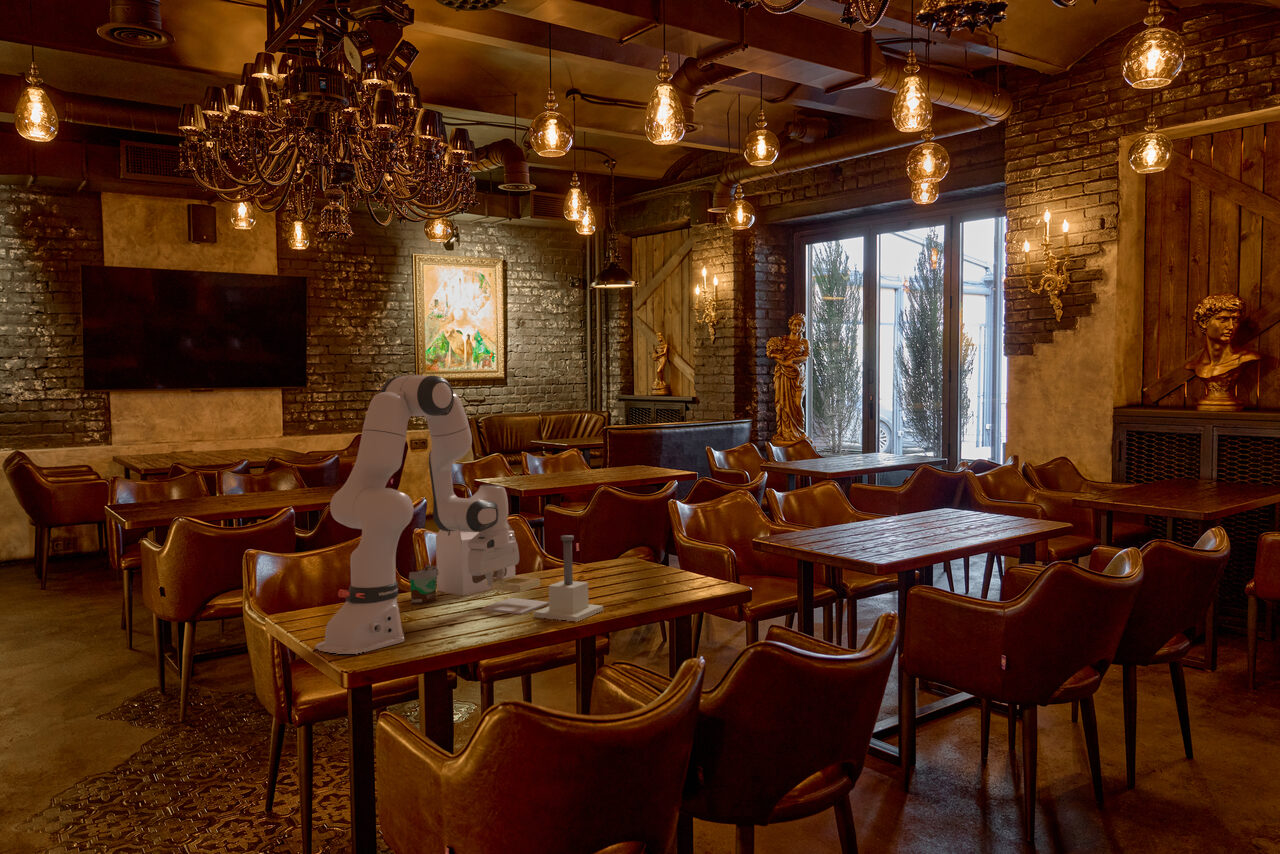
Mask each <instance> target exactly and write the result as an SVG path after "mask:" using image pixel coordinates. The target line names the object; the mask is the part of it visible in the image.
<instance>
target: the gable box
mask: <svg viewBox="0 0 1280 854" xmlns="http://www.w3.org/2000/svg"><path fill="white" fill-rule="evenodd" d="M507 522H508V526H509V535H510V534H512V535H513V536H514V537H515V530H514V528H512V525H511V523H509V521H508V520H507ZM478 533H479V532H462V531H443V530H441V529H439V530H438V532H437V534H436V535H435V554H436V555H435V557H436V559H435V560H436V561H435V563H436V565H435V566H436V567H437V569H438V572H439V575H437V578H436V592H441V591H442V593H446V594H452V595H455V596H456V595H457V596H461V597H465V595H466V596H469V594H470V595H474V593H475V594H477V593H482V592H483V593H484V592H486V591H491V589H492V587H489V586H488V585H487V578H486V576H485V574H484V575H481V576H474V575H471V574H470V573H469V569H468V554H469V551H470V548H468V542H469V541H470V540H471V539H472V538H474V537H475V536H476V535H477V534H478ZM493 573H494V575H492V576H493V578H497V574H498V572H497V571H494V572H493ZM511 576H516V565H513V566H510V567H507V568H505V574H504V576H503V579H505V578H508V577H511Z"/></svg>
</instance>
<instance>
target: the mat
mask: <svg viewBox="0 0 1280 854" xmlns="http://www.w3.org/2000/svg"><path fill="white" fill-rule="evenodd" d="M545 605H546V606H547V605H548V606H549V601H543V600H542V601H541V600H537V599H525V598H517V597H516V598H515V597H509V598H506V599H504V600H503V599H502V600H501V601H498V602H495V603H492V604H489V605H487V606H483V607H481V610H482V611H489V612H496V613H505V614H514V615H524V614H527V613H530V612H532V611H536V610H537V609H538V610H539V609H540V608H541V609H542V607H545Z"/></svg>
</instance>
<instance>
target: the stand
mask: <svg viewBox="0 0 1280 854" xmlns="http://www.w3.org/2000/svg"><path fill="white" fill-rule="evenodd" d="M574 540H575V536H574V535H572V534H571V535H570V534H569V535H568V534H567V535H564V534H563V535H560V541H562V544H563V545H562V546H563V549H562V550H563V553H562V554H563V580H561V581H558V582H555V583H553V584H550V585H548V602H549V604H548V606H546V607H544V608H541V609H540V608H539V609H538V610H534V612H533V617H534V618H536V619H537V618H538V619H544V618H546V619H548V620H553V619H556V620H555V621H561V620H567V621H566V622H569V621H576V622H575V623H578V622H577V621H579V622H581V621H583V620H582V619H584V620H586V619H588V618H590V617H589V616H591V617H592V615H593V616H595V615H597V614H596V613H598V614H599V612H600V613H602V612H604V605H598V604H589V602H590V601H589V600H590V599H589V582H588V581H577V580H576V581H574V578H573V576H574V575H573V541H574ZM601 611H602V612H601ZM594 614H595V615H594ZM587 617H588V618H587ZM585 618H586V619H585ZM546 619H545V620H546ZM557 619H558V620H557ZM580 620H581V621H580Z"/></svg>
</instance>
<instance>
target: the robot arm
mask: <svg viewBox="0 0 1280 854" xmlns="http://www.w3.org/2000/svg"><path fill="white" fill-rule="evenodd" d="M467 416H468V415H467V414H466V411H465V408H464V405H463V404H462V401H461V399H460V397H459V395H458V394H457V393H455V392H454V390H453V387H452V385H451V384H450V383H449V381H448V380H447V379H445V378H444V377H441V376H437V375H422V374H421V375H420V374H409V375H398V376H394V377H391V378H389V379H388V380H386V381H385V382H384V383H383V385H382V387H381V389H380V392H379V393H377V394H375V395H374V396H373V397H372V399H371V401H370V403H369V405H368V408H367V411H366V415H365V417H364V422H363V426H362V431H361V432H362V433H361V435H360V436H361V437H360V442H359V448H358V450H357V456H356V460H355V463H354V466H353V468H352V469H351V471H350V474H349V476H348V478H347V480H346V481H345V483H344V484H343V486H341V488H340V489H338V491H336V492H335V493H334V494H333V496H332V497H331V500H330V503H329V511H330V514H331V517H332V518H333V519H334V521H336V522H338V523H339V524H341V525H343V526H345V527H347V528H351V529H358V530H361V537H360V539H359V540H360V541H359V544H358V545H357V547H356V548H355V549H354V550H352V552H351V554H350V558H349V561H350V585H349V588H348V590H347V589H343V588H342V589H339V590H338V592H337V596H338V597H339V598H344V599H345V603H344V604H343V605H342V606H341V607H340V608H339V609H338V611H337V612H336V613H335V614H334V616H332V617H331V618H330V619H329V621H328V622H327V623H326V626H325V636H324V641H321V642H319V643H316V644H315V647H314V648H316V649H318V650H321V651H325V652H329V653H337V654H356V655H359V654H358V653H360V654H363V653H362V652H364V653H366V652H370V651H374V650H378V649H382V648H385V647H389V646H393V645H398V644H400V643H404V642H405V633H404V629H403V626H402V621H401V614H400V608H399V604H398V596H399V584H398V583H399V582H398V581H397V579H396V578H397V577H396V576H397V575H396V574H397V573H396V572H397V571H396V569H397V568H396V557H397V548H398V543H399V540H400V538H401V535H402V533H403V531H404V530H405V529H406V527H407V526H408V525H409V524H410V523H411V521H412V520H413V516H414V509H415V508H414V503H413V500H412V499H411V497H410V496H409V495H408V494H406V493H404V492H402V491H400V490H397V489H394V488H391V487H386V486H387V484H388V482H389V481H390V479H391V478H392V476H393V475H394V474H395V473H396V472H398V471H399V469H400V468H401V466H402V463H403V456H404V452H405V445H406V441H407V432H408V425H409V424H408V422H409V420H410V419H411V418H412V417H424V418H425V420H426V421H427V426H428V433H429V436H430V440H431V449H430V451H429V454H428V468H429V476H430V477H429V478H430V484H431V490H432V497H433V498H432V499H433V501H432V502H433V503H432V504H433V507H432V518H433V521H434V524H435V525H436V526H437V528H438V529H439V530H440V529H441V530H443V531H462V532H479V533H478V534H477V535H476V536H475V537H474V538H472V539H471V540H470V541H469V542H468V548H470V551H469V554H468V569H469V573H470V574H471V575H474V576H481V575H484V574H485V576H486V578H487V580H488V586H489V587H492V582H496V580H494V579H493V576H492V575H494V573H493V572H494V571H497V572H498V574H497V578H502V579H503V576H504V574H505V568H507V567H510V566H513V565H515V566H517V565H518V564H519V562H520V552H519V545H518V542H517V538H516V536H515V535H514V536H513V535H512V534H510V535H509V526H508V522H509V521H508V516H509V500H508V493H507V491H506V488H505V487H504V486H502V485H499V484H485V483H484V484H480V485H479V487H478V488H479V489H478V490H477V491H476V492H474V494H473V495H472V496H469V497H468V498H467V497H466V498H464V497H458V496H457V495H456V494H455V492H454V484H453V478H452V466H453V464H454V463H455V462H457V461H459V460H460V459H462V458H464V457H465V456H467V454H468V452H469V451H470V450H471V447H472V445H473V444H472V443H473V437H472V432H471V427H470V423H469V421H468V417H467ZM507 521H508V522H507ZM316 649H315V650H316ZM318 650H317V651H318ZM329 653H328V654H329ZM337 654H336V655H337Z"/></svg>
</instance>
